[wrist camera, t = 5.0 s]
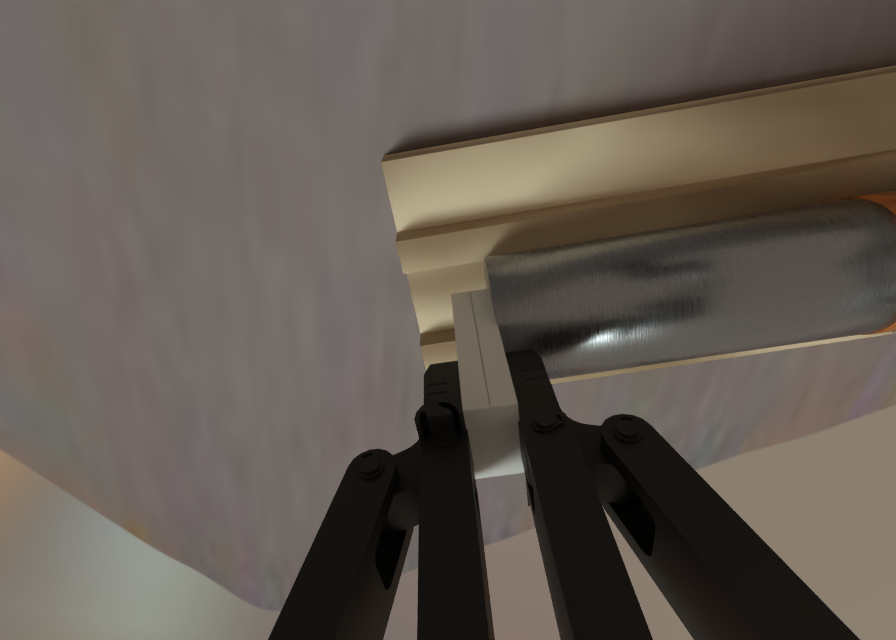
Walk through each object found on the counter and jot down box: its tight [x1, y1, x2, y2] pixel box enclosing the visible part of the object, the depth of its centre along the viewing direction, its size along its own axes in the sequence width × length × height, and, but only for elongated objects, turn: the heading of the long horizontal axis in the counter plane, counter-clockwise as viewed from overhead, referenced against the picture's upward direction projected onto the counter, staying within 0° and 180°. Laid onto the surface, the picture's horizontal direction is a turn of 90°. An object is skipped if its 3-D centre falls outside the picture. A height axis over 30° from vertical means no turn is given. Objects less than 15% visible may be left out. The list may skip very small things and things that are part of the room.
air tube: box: [483, 191, 896, 379], centre depth 17 cm, size 20×5×5 cm, turn 99°
